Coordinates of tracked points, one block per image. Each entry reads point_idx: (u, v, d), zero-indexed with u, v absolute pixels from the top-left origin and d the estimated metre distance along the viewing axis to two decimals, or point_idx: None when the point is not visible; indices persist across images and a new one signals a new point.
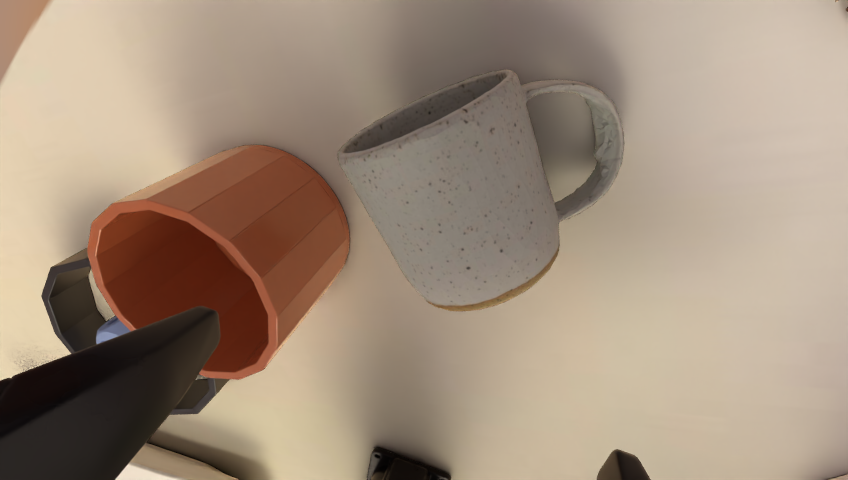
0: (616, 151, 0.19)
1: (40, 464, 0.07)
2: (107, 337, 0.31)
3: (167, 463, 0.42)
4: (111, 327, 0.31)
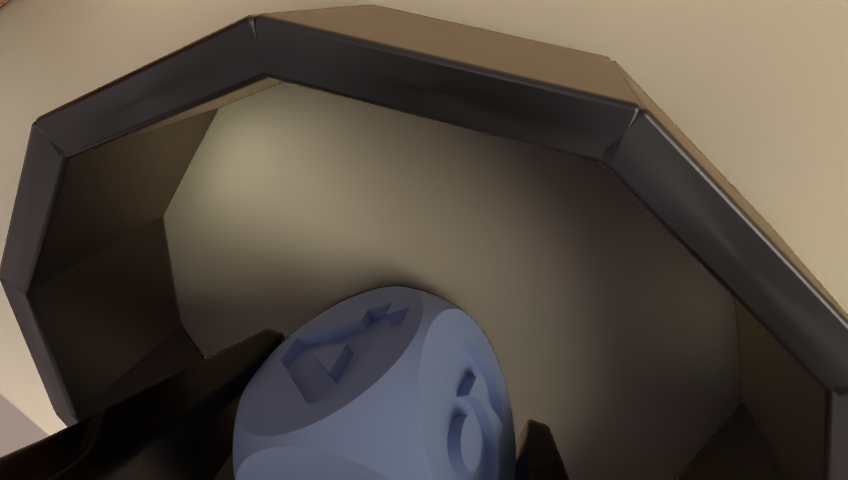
0: None
1: None
2: None
3: None
4: None
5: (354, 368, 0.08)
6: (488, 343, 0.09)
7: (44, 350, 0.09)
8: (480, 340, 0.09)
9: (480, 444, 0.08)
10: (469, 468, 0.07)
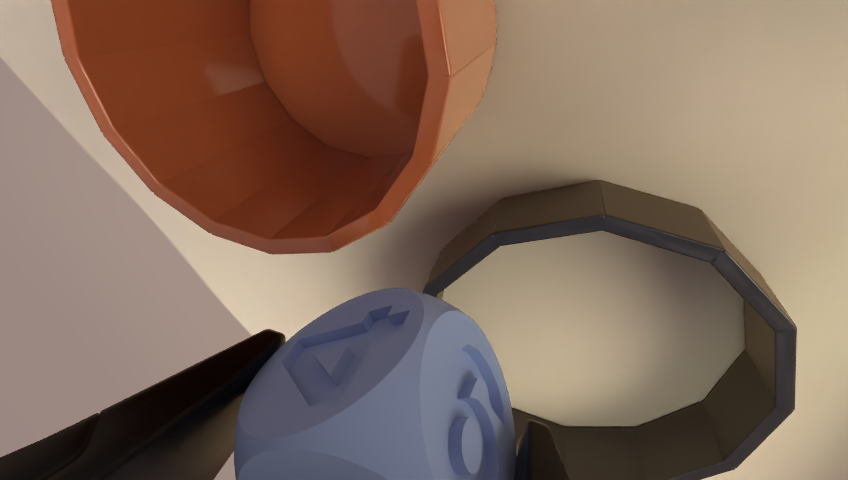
0: None
1: None
2: None
3: None
4: None
5: (355, 371, 0.08)
6: (489, 345, 0.09)
7: None
8: (481, 342, 0.09)
9: (480, 445, 0.08)
10: (470, 470, 0.07)
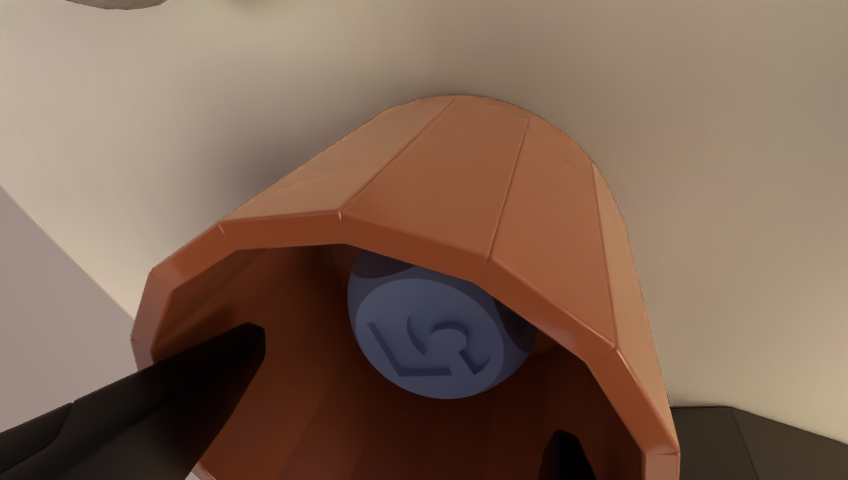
0: None
1: None
2: (376, 346, 0.12)
3: None
4: (351, 321, 0.12)
5: None
6: None
7: None
8: None
9: None
10: None
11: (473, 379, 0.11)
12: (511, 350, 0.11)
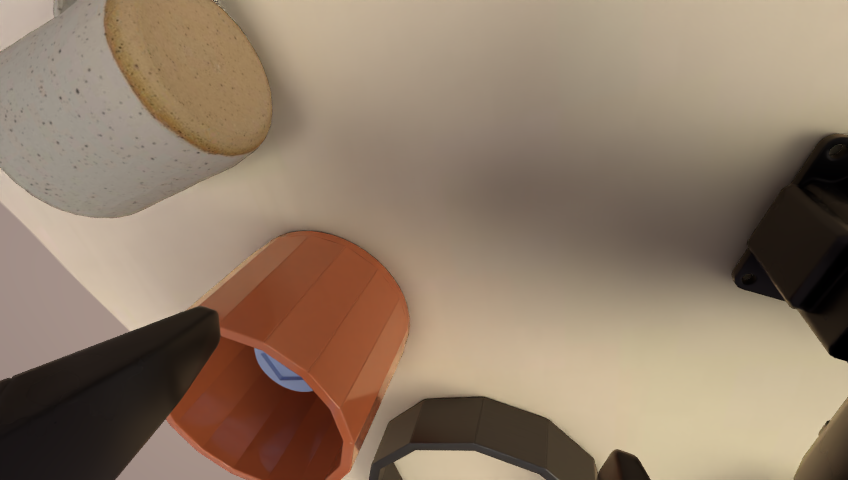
0: None
1: (40, 464, 0.07)
2: (266, 364, 0.23)
3: None
4: None
5: None
6: None
7: None
8: None
9: None
10: None
11: None
12: None
